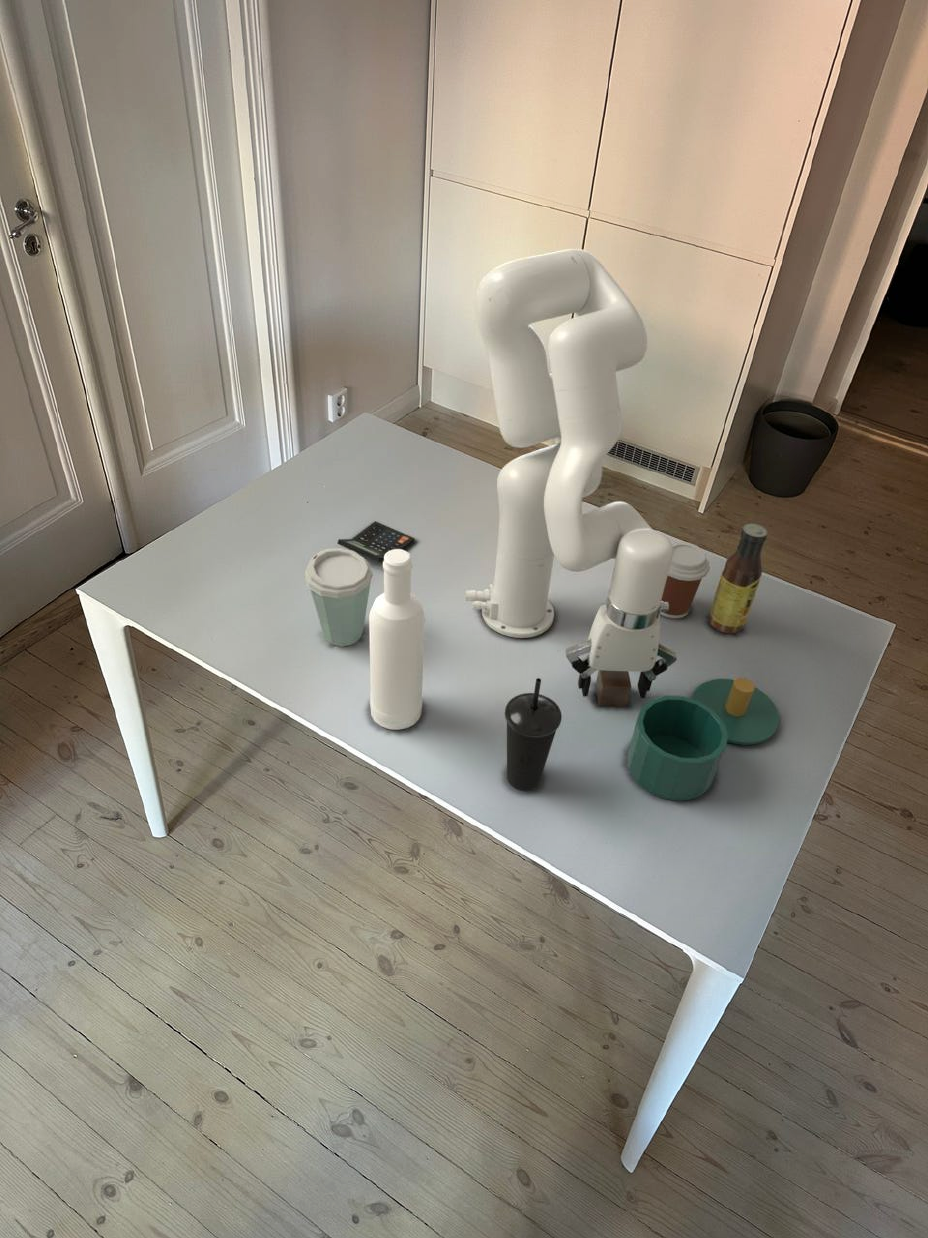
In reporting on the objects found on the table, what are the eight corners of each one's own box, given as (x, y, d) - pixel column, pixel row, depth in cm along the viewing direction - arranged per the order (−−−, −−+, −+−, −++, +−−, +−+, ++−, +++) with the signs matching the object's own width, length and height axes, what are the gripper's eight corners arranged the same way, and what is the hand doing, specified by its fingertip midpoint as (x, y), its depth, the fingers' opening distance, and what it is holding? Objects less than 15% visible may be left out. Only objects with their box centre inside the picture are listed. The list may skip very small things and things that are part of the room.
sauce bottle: (743, 638, 152) (777, 546, 139) (707, 632, 153) (737, 539, 140) (742, 614, 157) (774, 523, 144) (707, 608, 158) (736, 517, 145)
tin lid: (699, 746, 133) (710, 716, 129) (682, 682, 143) (691, 652, 139) (787, 749, 134) (801, 719, 129) (764, 685, 144) (775, 655, 139)
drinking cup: (494, 757, 129) (506, 659, 116) (545, 756, 130) (562, 659, 117) (499, 799, 123) (513, 702, 110) (553, 798, 124) (572, 700, 111)
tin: (634, 799, 125) (645, 761, 119) (621, 732, 134) (631, 694, 129) (721, 802, 125) (736, 764, 120) (702, 735, 135) (716, 697, 129)
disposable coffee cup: (385, 626, 150) (384, 556, 140) (353, 665, 142) (350, 594, 132) (331, 607, 153) (327, 537, 143) (297, 644, 145) (290, 572, 135)
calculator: (414, 541, 168) (414, 529, 166) (377, 571, 161) (377, 558, 159) (375, 524, 172) (375, 512, 170) (337, 553, 164) (337, 540, 162)
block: (598, 706, 138) (603, 686, 135) (595, 685, 142) (599, 665, 139) (626, 707, 138) (631, 687, 135) (622, 686, 142) (627, 666, 139)
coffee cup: (699, 598, 160) (715, 545, 152) (692, 628, 154) (709, 574, 146) (650, 585, 162) (663, 532, 154) (641, 615, 156) (654, 561, 148)
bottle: (402, 739, 131) (404, 582, 111) (359, 716, 134) (355, 560, 114) (431, 706, 136) (439, 552, 116) (390, 685, 139) (391, 531, 119)
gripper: (685, 594, 131) (662, 676, 142) (570, 589, 130) (556, 673, 142) (696, 627, 125) (671, 710, 137) (575, 622, 125) (560, 706, 136)
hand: (612, 691), depth 139 cm, fingers open, 8 cm apart
